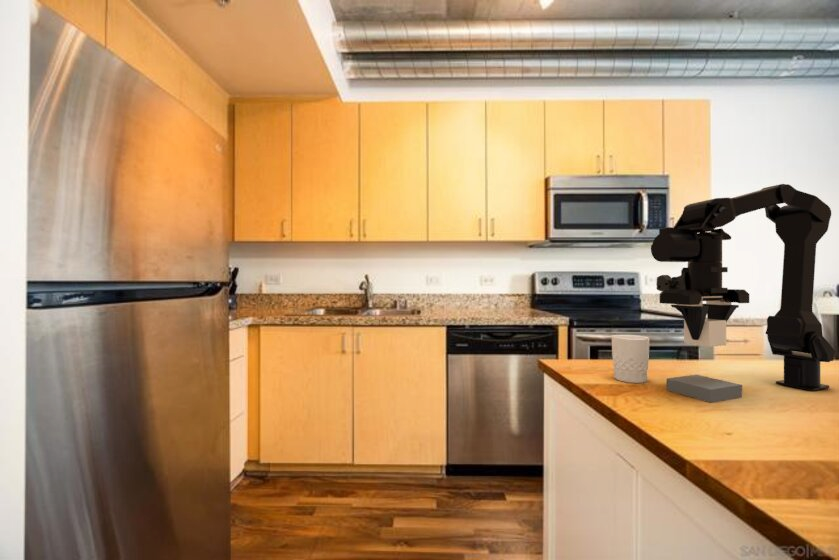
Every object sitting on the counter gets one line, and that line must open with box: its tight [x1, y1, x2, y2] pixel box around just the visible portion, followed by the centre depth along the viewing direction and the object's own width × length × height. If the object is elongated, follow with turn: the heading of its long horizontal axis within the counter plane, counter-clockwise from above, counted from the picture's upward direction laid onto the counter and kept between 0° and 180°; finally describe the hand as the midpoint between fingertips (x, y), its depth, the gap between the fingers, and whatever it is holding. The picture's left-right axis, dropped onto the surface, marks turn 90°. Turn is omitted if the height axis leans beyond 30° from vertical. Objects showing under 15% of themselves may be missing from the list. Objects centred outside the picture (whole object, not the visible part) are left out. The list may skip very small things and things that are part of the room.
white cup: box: [611, 334, 651, 384], centre depth 92 cm, size 8×8×10 cm
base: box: [666, 374, 743, 403], centre depth 81 cm, size 9×9×2 cm
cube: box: [683, 318, 727, 348], centre depth 80 cm, size 5×5×5 cm
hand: (704, 339), depth 80 cm, fingers closed on cube, 5 cm apart
